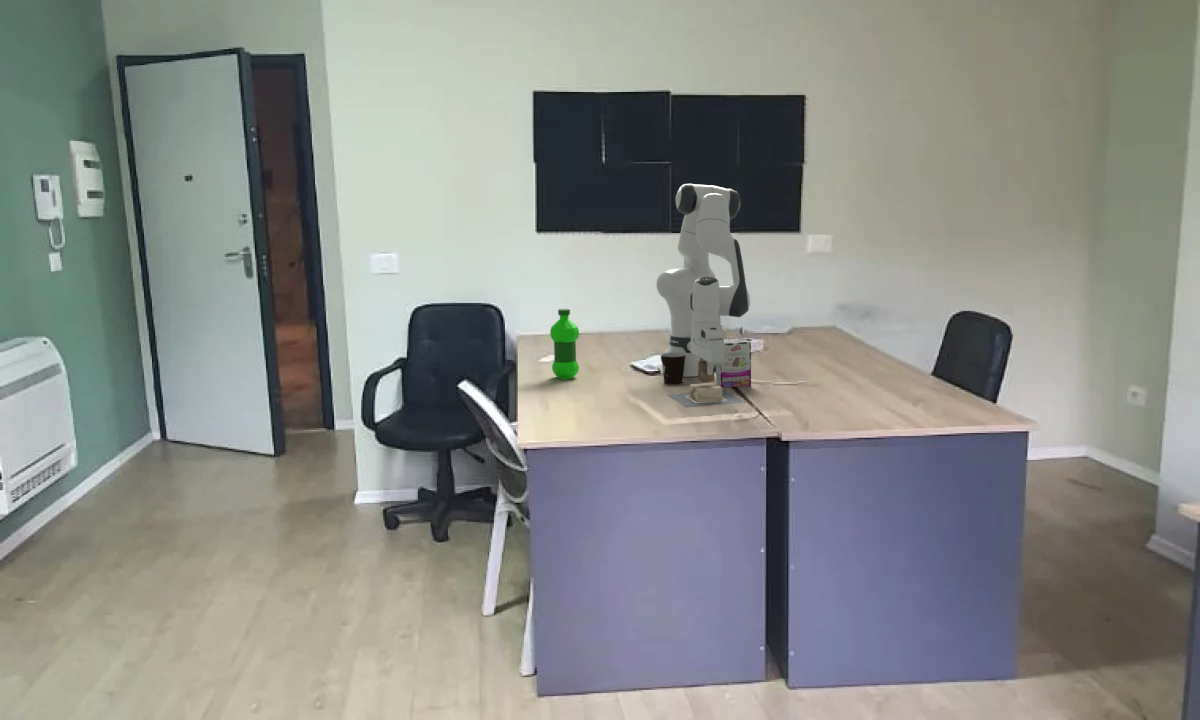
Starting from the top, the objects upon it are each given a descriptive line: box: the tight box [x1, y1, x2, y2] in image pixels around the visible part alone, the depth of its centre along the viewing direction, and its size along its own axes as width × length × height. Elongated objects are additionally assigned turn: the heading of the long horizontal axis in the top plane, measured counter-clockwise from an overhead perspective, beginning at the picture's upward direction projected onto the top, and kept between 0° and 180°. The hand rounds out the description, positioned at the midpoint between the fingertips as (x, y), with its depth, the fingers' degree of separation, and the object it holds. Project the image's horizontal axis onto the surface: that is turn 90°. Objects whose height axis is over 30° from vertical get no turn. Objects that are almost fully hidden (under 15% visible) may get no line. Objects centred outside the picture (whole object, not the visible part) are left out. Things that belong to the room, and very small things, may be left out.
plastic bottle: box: [549, 308, 580, 380], centre depth 338 cm, size 10×10×25 cm
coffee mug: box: [660, 352, 686, 385], centre depth 330 cm, size 12×9×10 cm
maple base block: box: [689, 382, 723, 402], centre depth 298 cm, size 8×8×4 cm
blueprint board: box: [667, 389, 747, 408], centre depth 298 cm, size 18×20×2 cm
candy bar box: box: [715, 339, 752, 388], centre depth 316 cm, size 11×5×16 cm, turn 105°
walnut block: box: [697, 361, 716, 383], centre depth 296 cm, size 4×4×6 cm
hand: (706, 372), depth 296 cm, fingers closed on walnut block, 4 cm apart
